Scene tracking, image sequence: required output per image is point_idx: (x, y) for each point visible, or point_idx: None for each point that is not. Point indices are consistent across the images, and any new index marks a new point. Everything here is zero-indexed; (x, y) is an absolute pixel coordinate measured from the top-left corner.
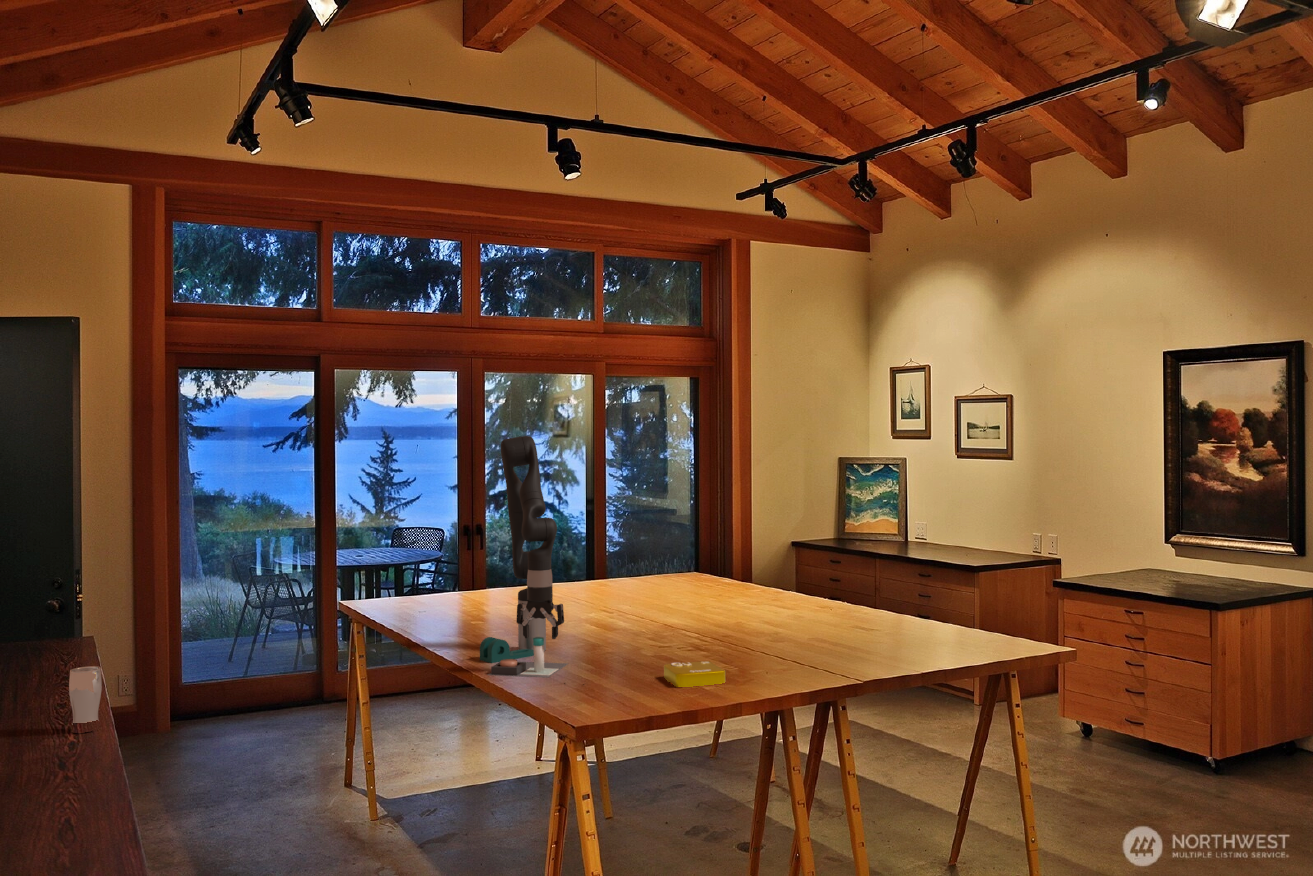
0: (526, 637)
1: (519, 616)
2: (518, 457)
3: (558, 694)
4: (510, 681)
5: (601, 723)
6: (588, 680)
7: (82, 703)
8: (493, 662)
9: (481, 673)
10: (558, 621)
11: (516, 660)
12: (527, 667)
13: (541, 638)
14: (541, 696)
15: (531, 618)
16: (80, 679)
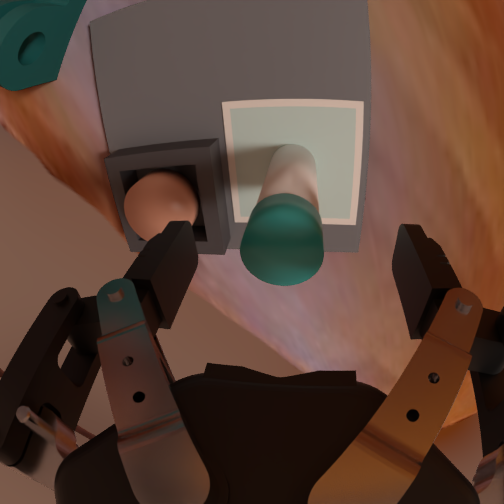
0: (193, 267)
1: (82, 389)
2: None
3: (402, 359)
4: (233, 272)
5: (446, 426)
6: (481, 230)
7: None
8: (51, 74)
9: (89, 190)
10: (476, 380)
11: (183, 204)
12: (203, 94)
13: (311, 267)
14: (367, 374)
15: (163, 362)
16: None
